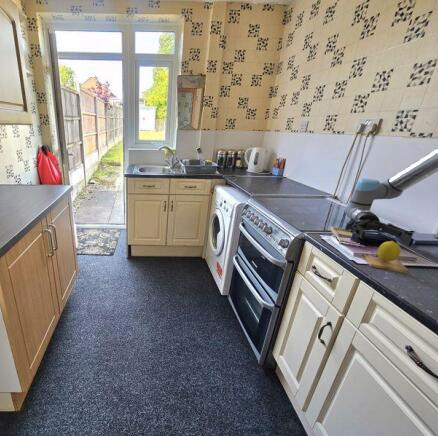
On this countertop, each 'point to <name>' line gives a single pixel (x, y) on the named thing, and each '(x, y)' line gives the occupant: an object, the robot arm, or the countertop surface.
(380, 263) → the board
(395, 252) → the lemon
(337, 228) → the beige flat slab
